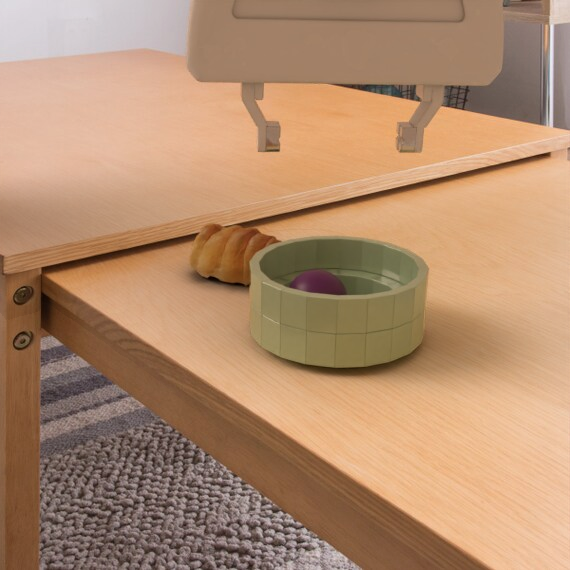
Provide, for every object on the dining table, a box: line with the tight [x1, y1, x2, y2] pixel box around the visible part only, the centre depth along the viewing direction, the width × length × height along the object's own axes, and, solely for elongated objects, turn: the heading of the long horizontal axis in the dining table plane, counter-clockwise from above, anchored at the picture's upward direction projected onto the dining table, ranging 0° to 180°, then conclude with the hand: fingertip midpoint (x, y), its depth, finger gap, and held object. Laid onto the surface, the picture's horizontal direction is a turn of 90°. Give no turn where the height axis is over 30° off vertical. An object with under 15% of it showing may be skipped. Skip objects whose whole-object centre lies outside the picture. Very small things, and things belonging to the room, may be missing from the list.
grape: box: [289, 269, 347, 295], centre depth 66 cm, size 4×4×4 cm
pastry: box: [188, 222, 283, 286], centre depth 77 cm, size 9×7×4 cm
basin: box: [248, 235, 430, 369], centre depth 66 cm, size 12×12×6 cm
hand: (338, 150), depth 62 cm, fingers open, 8 cm apart
